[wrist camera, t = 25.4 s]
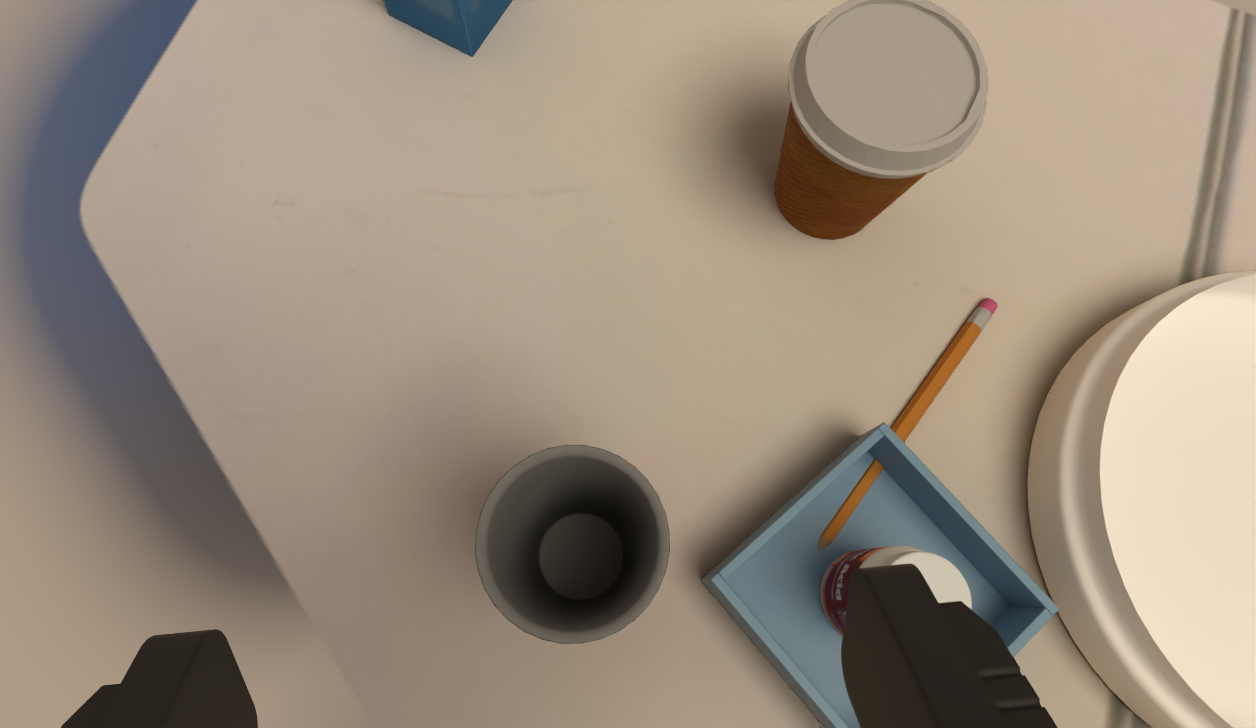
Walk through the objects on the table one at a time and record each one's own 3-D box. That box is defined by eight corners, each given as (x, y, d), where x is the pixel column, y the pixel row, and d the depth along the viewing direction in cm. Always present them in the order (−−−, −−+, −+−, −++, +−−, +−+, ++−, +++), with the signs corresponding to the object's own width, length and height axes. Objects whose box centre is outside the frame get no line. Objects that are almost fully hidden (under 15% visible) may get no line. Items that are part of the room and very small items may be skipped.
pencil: (979, 296, 47) (795, 557, 43) (994, 296, 46) (807, 562, 42) (988, 307, 48) (805, 567, 43) (1002, 307, 47) (817, 572, 42)
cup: (624, 476, 44) (637, 422, 29) (661, 601, 42) (695, 608, 28) (502, 512, 43) (454, 475, 28) (536, 641, 41) (502, 670, 27)
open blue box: (859, 769, 40) (887, 788, 36) (700, 580, 42) (710, 579, 38) (1018, 606, 43) (1060, 608, 39) (860, 435, 45) (884, 421, 41)
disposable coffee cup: (753, 114, 50) (800, -28, 38) (905, 132, 50) (997, -4, 38) (742, 255, 47) (789, 148, 36) (902, 274, 47) (1000, 173, 36)
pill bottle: (855, 531, 43) (915, 518, 35) (926, 594, 42) (1003, 596, 34) (799, 599, 42) (847, 602, 34) (870, 665, 41) (937, 684, 33)
